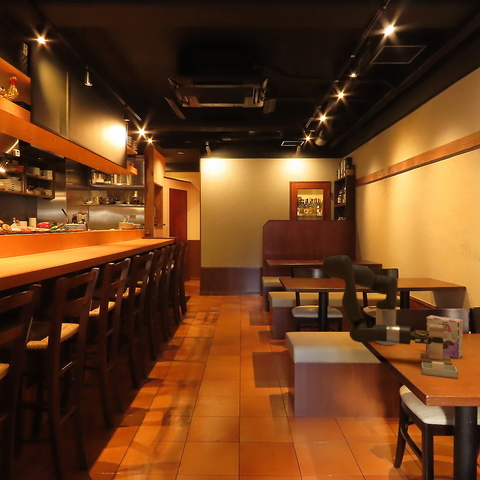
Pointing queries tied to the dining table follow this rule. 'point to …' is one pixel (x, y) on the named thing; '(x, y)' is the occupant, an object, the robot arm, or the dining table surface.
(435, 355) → the block
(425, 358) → the flat square baseboard
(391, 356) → the dining table surface
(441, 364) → the tile
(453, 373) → the tray
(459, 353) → the candy box
